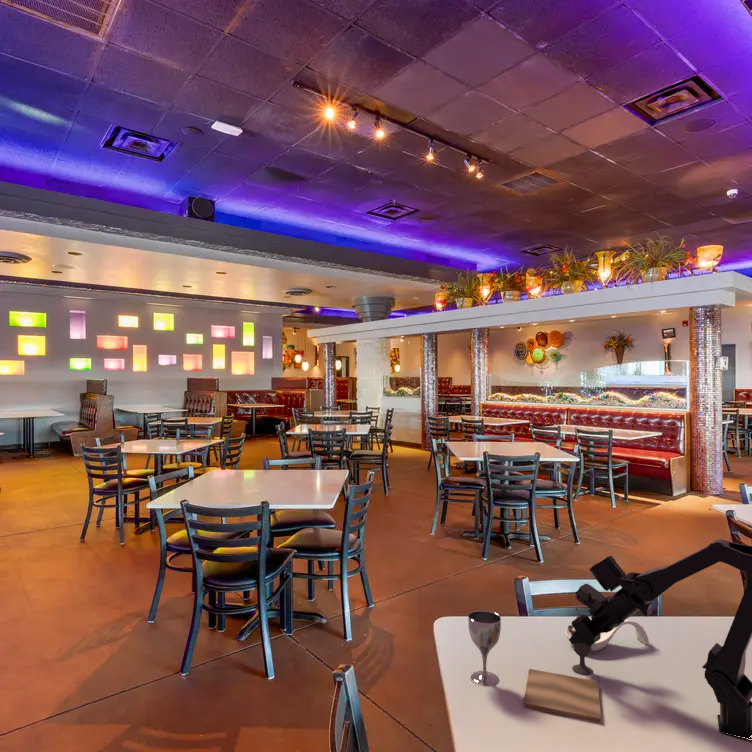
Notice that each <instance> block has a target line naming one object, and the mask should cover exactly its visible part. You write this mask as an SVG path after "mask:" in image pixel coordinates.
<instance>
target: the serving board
mask: <svg viewBox="0 0 752 752" xmlns="http://www.w3.org/2000/svg"><path fill="white" fill-rule="evenodd" d="M524 692H525V693H524V698H523V706H522V707H523V708H525V709H530V710H535V711H539V712H540V711H541V712H545V713H551V714H554V715H560V716H563V717H564V716H565V717H569V718H574V719H579V720H583V721H589V722H593V723H598V724H601V723H602V717H601V715H602V714H601V704H600V692H599V681H597V680H594V679H589V678H588V679H587V678H581V677H576V676H571V675H565V674H561V673H554V672H550V671H543V670H539V669H538V670H537V669H532V668H528V675H527V679H526V687H525V690H524Z"/></svg>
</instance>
